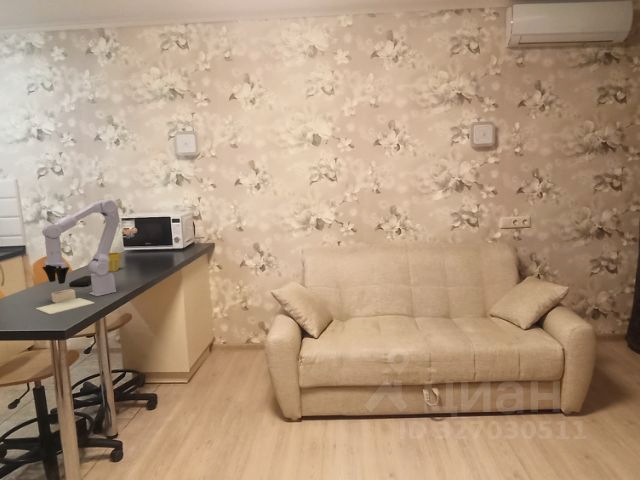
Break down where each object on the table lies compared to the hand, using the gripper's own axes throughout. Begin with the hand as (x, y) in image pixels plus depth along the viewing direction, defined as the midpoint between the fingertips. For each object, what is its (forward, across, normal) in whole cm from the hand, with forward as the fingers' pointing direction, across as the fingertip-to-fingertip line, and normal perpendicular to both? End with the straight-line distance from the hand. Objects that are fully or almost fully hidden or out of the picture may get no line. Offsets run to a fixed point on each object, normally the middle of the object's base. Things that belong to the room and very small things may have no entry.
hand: (57, 282), depth 204 cm
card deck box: (+9, -2, +3) cm, 10 cm away
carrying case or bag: (+9, -23, +26) cm, 36 cm away
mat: (+9, +9, -2) cm, 13 cm away
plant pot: (+8, -38, +51) cm, 64 cm away
